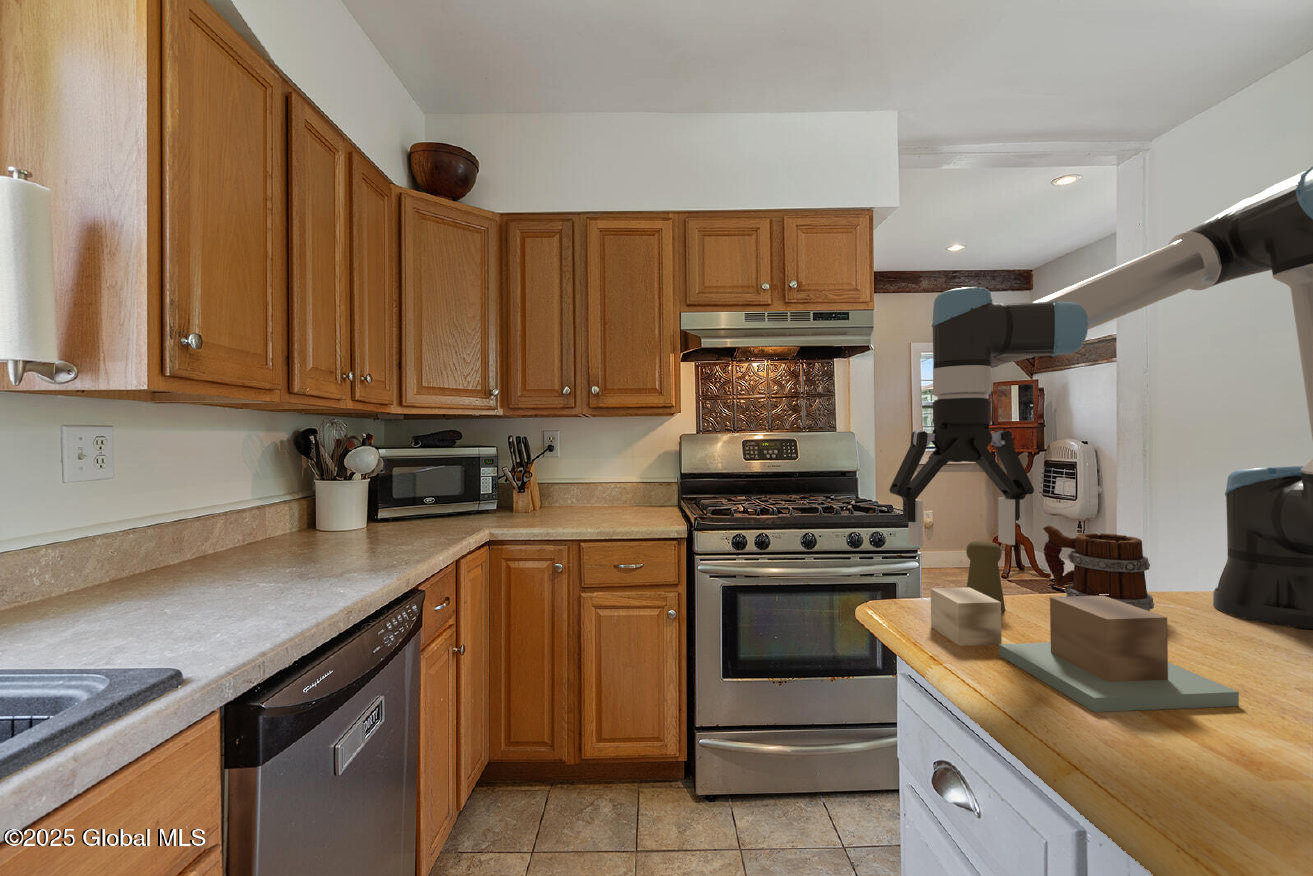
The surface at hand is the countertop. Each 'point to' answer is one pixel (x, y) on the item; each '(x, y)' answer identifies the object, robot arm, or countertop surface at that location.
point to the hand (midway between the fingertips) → (961, 544)
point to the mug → (1100, 566)
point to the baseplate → (1118, 684)
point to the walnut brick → (1109, 638)
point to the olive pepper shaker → (985, 569)
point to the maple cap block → (966, 616)
